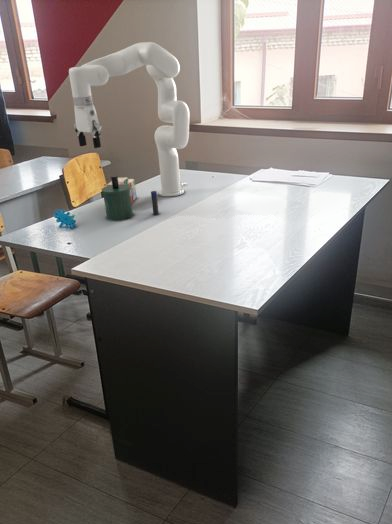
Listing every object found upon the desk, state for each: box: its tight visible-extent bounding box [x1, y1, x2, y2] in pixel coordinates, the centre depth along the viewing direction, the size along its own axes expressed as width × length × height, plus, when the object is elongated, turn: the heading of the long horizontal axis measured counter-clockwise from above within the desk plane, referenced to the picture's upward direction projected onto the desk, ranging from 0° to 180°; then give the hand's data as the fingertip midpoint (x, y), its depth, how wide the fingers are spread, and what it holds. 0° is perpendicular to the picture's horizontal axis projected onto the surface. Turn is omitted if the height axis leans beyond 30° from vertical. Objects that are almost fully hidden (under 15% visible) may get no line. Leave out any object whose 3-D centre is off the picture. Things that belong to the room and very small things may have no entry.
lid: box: [101, 175, 131, 194], centre depth 220 cm, size 13×13×7 cm
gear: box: [53, 208, 77, 230], centre depth 218 cm, size 11×6×10 cm
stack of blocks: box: [106, 176, 138, 204], centre depth 240 cm, size 21×6×12 cm, turn 168°
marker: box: [150, 190, 160, 216], centre depth 225 cm, size 2×2×10 cm
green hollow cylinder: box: [102, 191, 134, 222], centre depth 224 cm, size 12×12×12 cm
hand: (90, 146), depth 213 cm, fingers open, 9 cm apart
